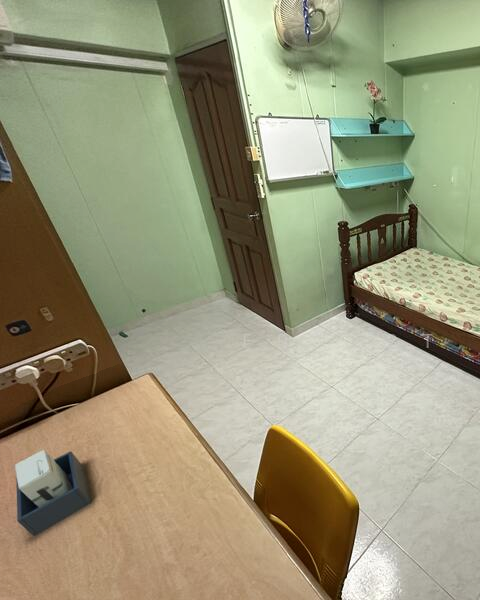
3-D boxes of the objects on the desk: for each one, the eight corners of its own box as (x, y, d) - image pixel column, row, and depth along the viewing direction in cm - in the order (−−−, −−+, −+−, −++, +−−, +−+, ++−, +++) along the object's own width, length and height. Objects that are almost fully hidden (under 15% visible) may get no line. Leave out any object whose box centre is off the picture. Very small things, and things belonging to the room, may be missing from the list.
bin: (34, 537, 66) (17, 521, 63) (32, 493, 74) (16, 477, 71) (91, 503, 72) (78, 487, 69) (83, 467, 80) (71, 450, 77)
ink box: (42, 494, 74) (13, 463, 68) (70, 478, 77) (45, 447, 71) (48, 519, 69) (17, 488, 63) (78, 501, 72) (51, 470, 67)
